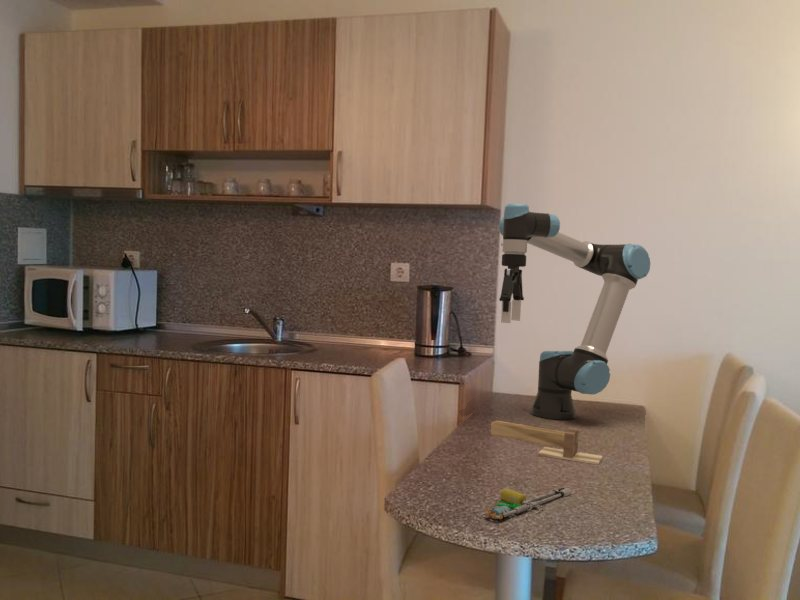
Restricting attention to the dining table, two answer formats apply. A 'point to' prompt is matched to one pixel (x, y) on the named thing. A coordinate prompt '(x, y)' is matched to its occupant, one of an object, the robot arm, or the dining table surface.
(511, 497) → the flamethrower
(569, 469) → the dining table surface
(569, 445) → the fulcrum stand
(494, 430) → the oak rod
